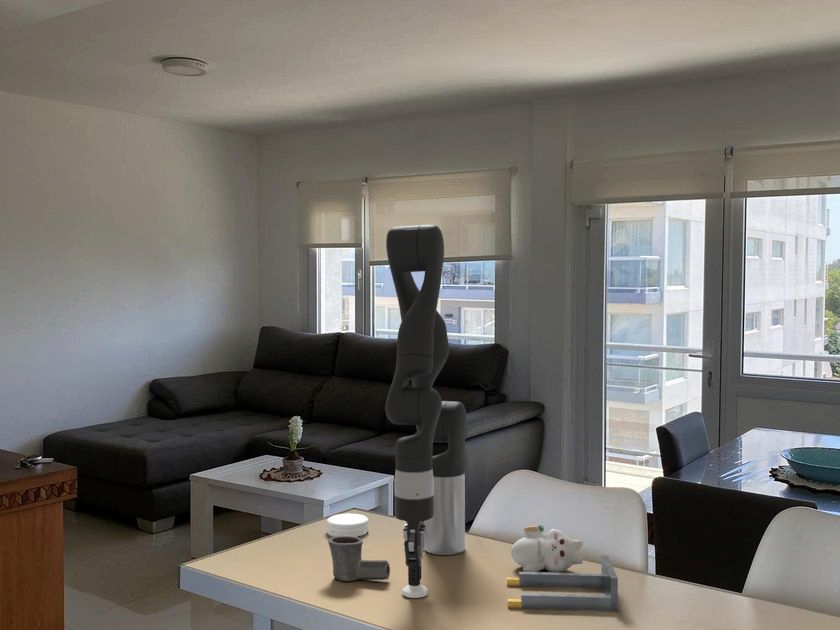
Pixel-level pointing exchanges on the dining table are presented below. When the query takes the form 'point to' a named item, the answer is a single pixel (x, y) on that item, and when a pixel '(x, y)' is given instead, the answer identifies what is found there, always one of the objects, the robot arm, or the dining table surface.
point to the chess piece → (415, 590)
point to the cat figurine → (546, 550)
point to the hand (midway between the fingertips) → (414, 581)
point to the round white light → (347, 525)
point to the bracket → (573, 580)
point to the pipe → (355, 561)
